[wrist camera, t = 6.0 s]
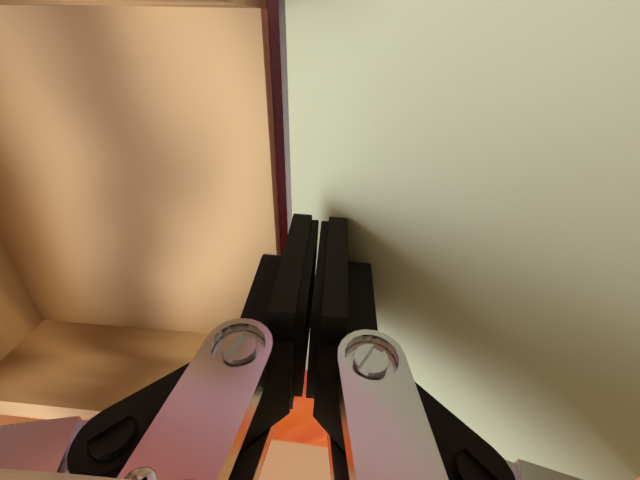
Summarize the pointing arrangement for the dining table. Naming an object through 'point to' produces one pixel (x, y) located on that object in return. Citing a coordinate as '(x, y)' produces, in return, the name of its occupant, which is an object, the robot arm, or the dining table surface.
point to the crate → (127, 191)
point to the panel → (486, 204)
